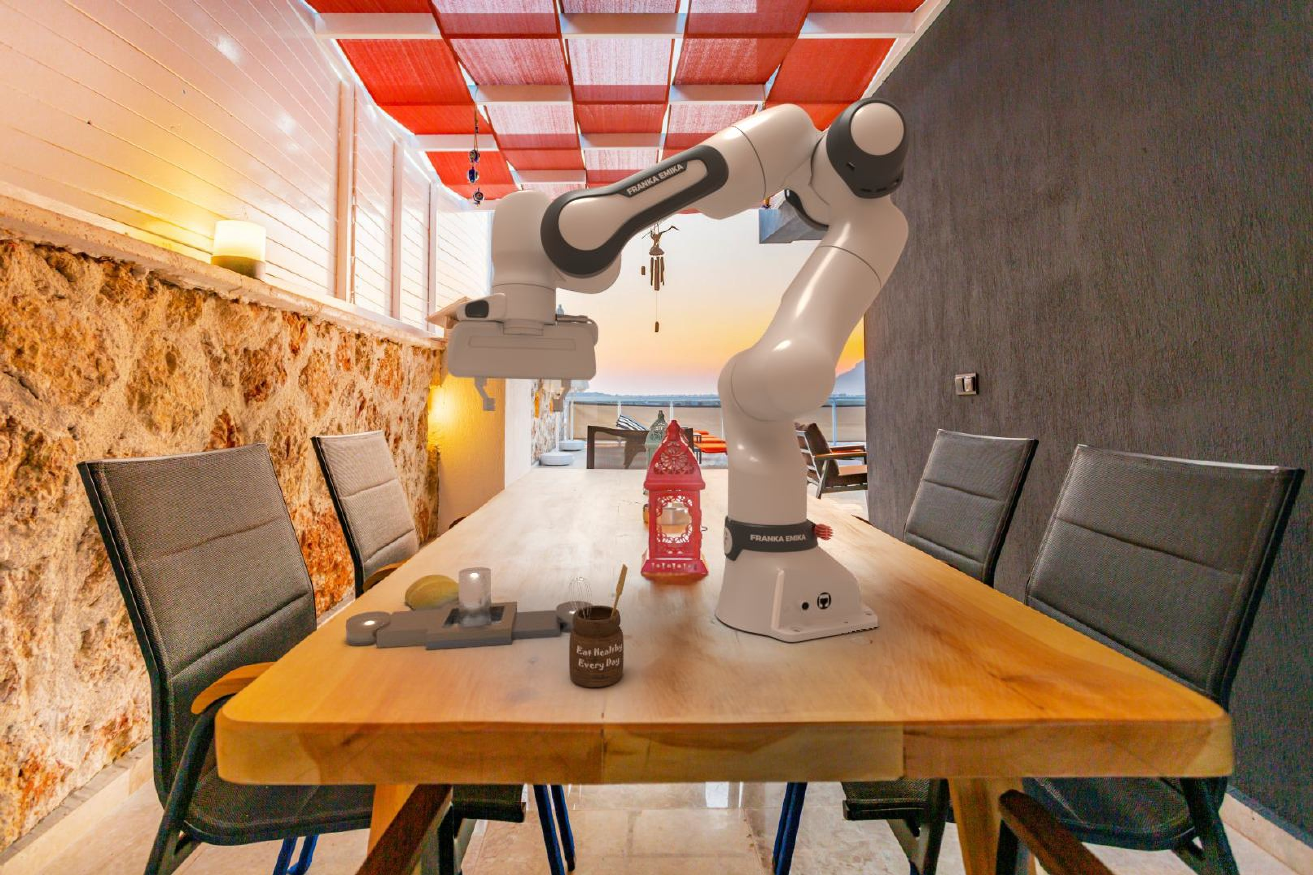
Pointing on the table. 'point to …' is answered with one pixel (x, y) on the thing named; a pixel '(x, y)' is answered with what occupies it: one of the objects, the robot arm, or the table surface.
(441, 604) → the bread roll
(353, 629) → the upper chain link
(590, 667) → the utensil holder
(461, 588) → the steel pin
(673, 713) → the table surface
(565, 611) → the lower chain link
